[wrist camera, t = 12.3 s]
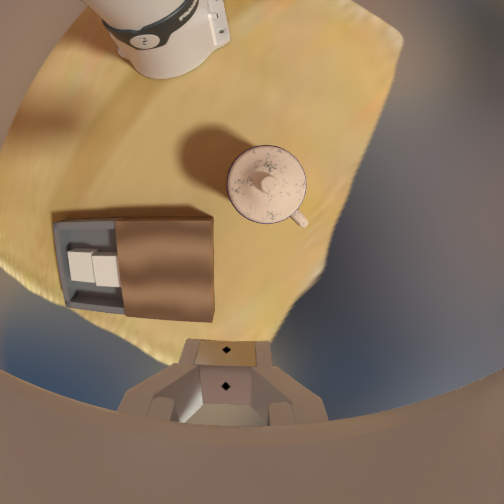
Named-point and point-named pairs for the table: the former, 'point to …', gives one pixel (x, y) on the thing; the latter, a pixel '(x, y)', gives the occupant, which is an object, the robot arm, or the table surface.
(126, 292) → the walnut board
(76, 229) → the tray
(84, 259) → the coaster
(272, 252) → the table surface
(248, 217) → the teacup with lid
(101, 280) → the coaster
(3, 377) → the robot arm
